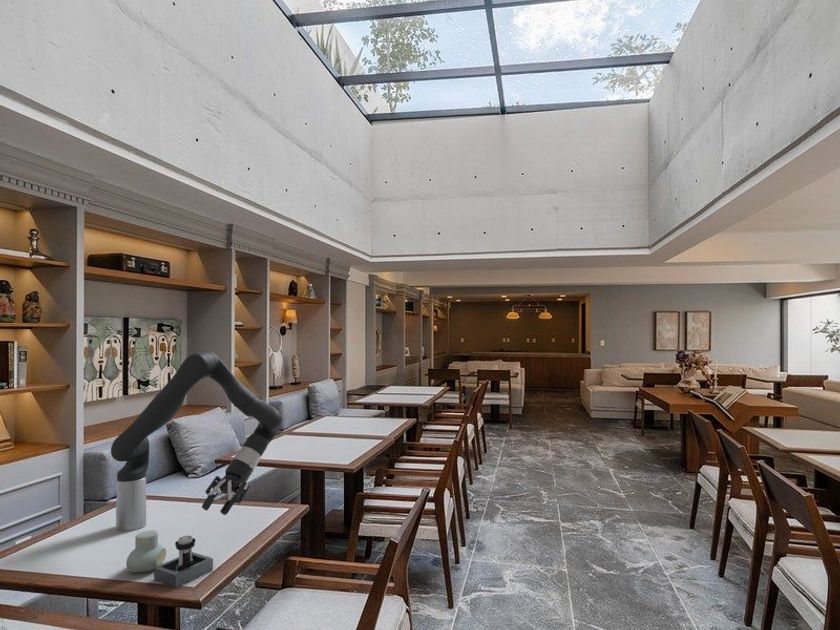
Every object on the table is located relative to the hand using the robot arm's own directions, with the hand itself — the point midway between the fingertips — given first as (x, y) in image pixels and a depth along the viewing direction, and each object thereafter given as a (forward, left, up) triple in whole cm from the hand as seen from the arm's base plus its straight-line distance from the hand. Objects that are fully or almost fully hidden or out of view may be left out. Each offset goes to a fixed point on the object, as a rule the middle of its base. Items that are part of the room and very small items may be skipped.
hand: (213, 511), depth 156 cm
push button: (-1, -10, -15) cm, 18 cm away
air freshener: (-14, -12, -15) cm, 24 cm away
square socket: (0, -10, -15) cm, 18 cm away
